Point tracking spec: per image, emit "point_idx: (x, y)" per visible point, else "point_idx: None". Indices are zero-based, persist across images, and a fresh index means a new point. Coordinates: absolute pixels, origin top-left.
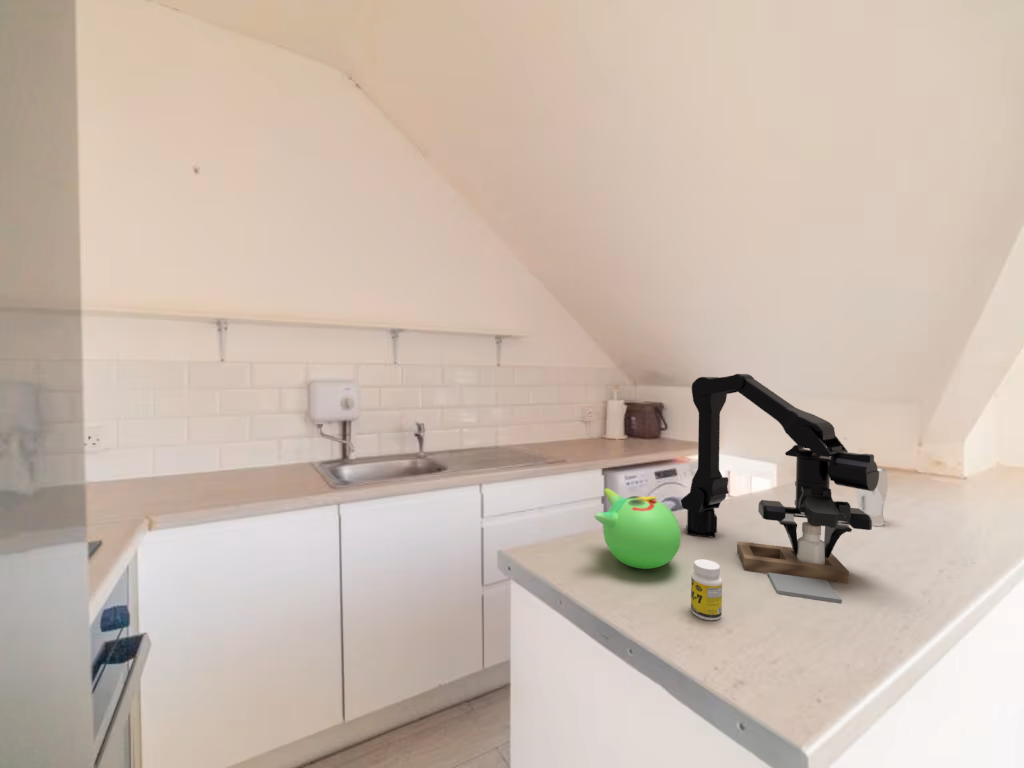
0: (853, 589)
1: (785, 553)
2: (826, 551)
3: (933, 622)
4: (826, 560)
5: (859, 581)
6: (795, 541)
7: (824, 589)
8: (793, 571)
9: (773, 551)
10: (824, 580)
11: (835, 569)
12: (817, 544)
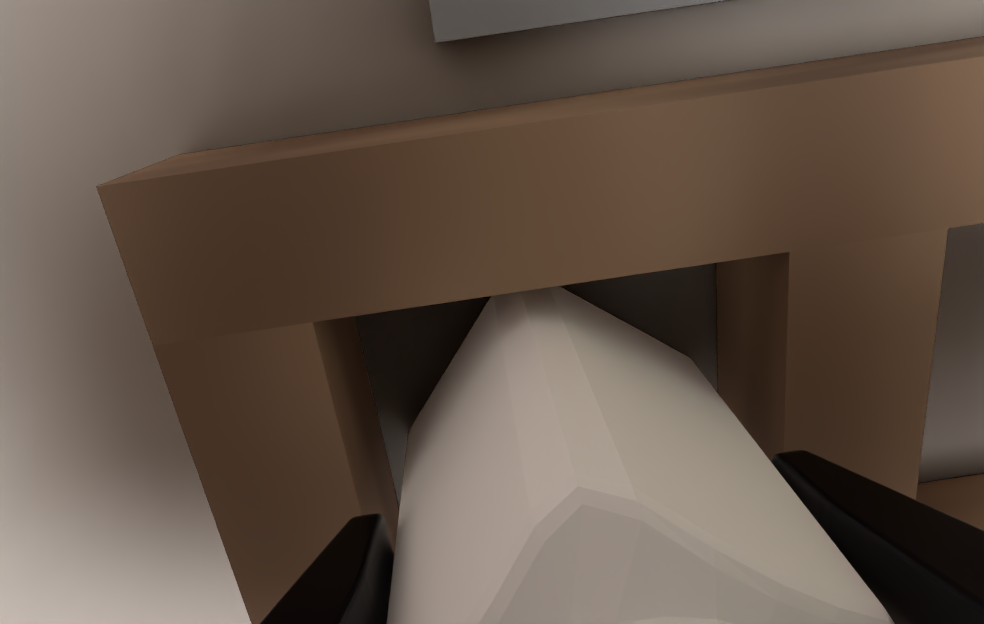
0: (130, 4)
1: None
2: (371, 580)
3: None
4: None
5: (70, 321)
6: (967, 570)
7: None
8: (839, 63)
9: None
10: (460, 15)
11: (290, 171)
12: (561, 553)
